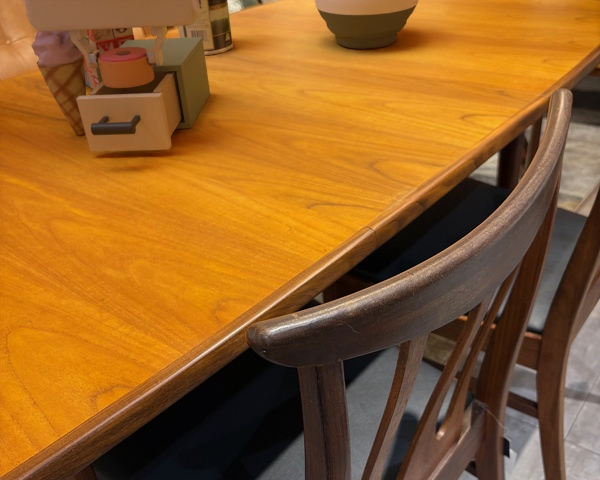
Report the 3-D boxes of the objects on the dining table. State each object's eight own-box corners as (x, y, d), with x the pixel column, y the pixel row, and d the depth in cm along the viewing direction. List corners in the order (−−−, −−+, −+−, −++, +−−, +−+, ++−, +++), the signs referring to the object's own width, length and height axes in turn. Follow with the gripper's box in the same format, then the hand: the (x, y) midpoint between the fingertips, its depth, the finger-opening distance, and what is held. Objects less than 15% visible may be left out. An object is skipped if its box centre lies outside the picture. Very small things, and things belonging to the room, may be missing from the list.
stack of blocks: (68, 73, 111) (48, -1, 104) (101, 66, 114) (84, -7, 106) (109, 102, 96) (89, 18, 89) (146, 93, 99) (129, 11, 92)
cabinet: (191, 128, 85) (180, 64, 80) (110, 130, 86) (95, 68, 81) (210, 94, 97) (202, 36, 92) (139, 96, 98) (127, 39, 93)
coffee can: (225, 39, 125) (216, -39, 117) (239, 50, 117) (230, -32, 109) (176, 46, 122) (162, -33, 114) (186, 58, 115) (173, -26, 106)
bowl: (390, 25, 127) (392, -27, 121) (436, 46, 112) (441, -11, 106) (301, 37, 122) (299, -15, 117) (336, 62, 107) (335, 2, 102)
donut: (96, 88, 75) (89, 60, 73) (112, 73, 80) (106, 46, 78) (146, 87, 75) (141, 59, 73) (159, 71, 80) (155, 44, 78)
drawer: (161, 163, 74) (150, 108, 70) (78, 165, 75) (62, 110, 71) (191, 112, 88) (183, 63, 84) (121, 114, 89) (110, 66, 85)
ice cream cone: (56, 129, 88) (22, 17, 79) (100, 120, 90) (71, 10, 81) (61, 144, 83) (25, 26, 74) (107, 135, 85) (78, 19, 76)
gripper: (-4, -54, 67) (36, 76, 75) (180, -64, 65) (199, 70, 73) (21, -61, 72) (55, 61, 80) (192, -71, 70) (209, 55, 78)
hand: (126, 65), depth 77 cm, fingers closed on donut, 6 cm apart
